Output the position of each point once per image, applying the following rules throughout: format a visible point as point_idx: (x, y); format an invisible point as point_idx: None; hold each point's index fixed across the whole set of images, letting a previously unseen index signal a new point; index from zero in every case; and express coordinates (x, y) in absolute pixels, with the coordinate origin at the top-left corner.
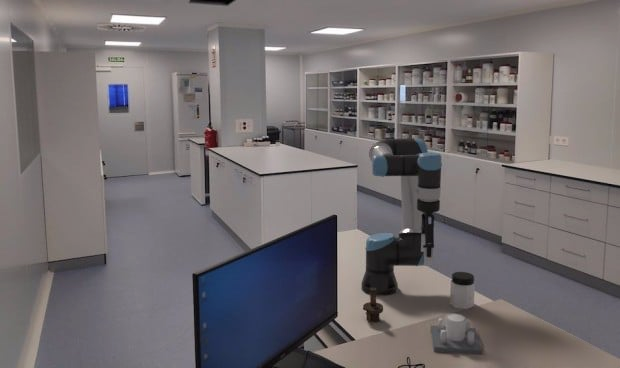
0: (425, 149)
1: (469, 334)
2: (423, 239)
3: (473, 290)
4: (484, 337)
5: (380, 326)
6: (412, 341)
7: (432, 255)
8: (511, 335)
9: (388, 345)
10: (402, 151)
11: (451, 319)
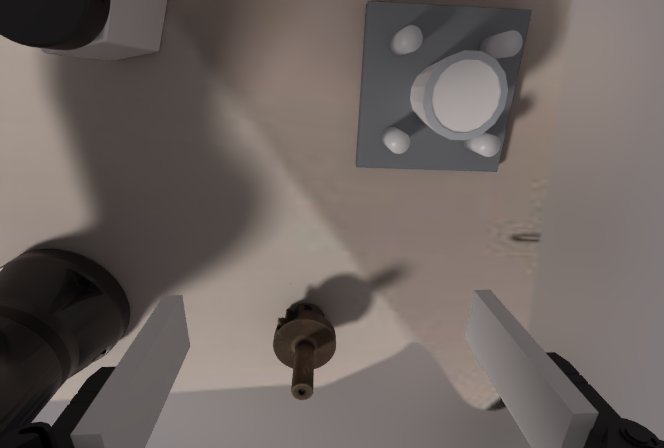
0: None
1: (517, 52)
2: (145, 425)
3: None
4: None
5: (346, 299)
6: (432, 222)
7: (539, 348)
8: None
9: (452, 281)
10: None
11: (478, 118)
